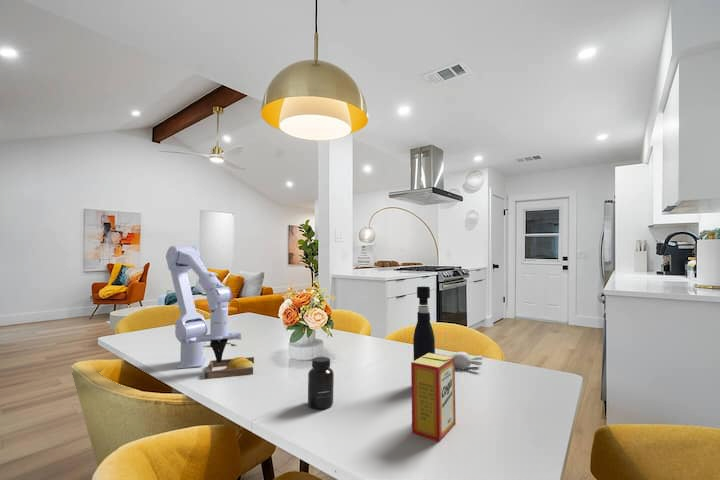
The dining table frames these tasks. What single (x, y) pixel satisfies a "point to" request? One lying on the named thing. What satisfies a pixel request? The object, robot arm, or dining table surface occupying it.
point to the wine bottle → (423, 326)
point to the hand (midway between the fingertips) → (219, 361)
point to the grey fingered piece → (464, 360)
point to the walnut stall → (228, 372)
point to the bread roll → (239, 363)
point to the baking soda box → (433, 395)
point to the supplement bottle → (320, 384)
